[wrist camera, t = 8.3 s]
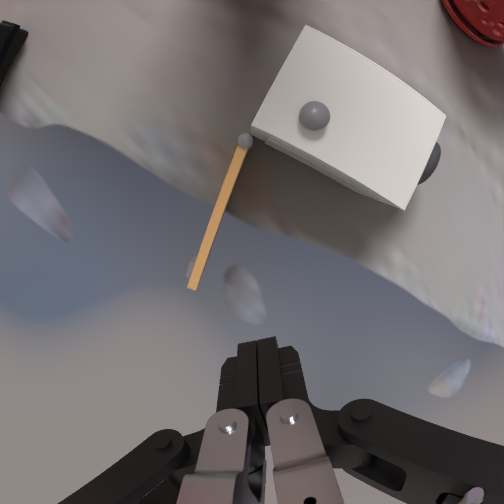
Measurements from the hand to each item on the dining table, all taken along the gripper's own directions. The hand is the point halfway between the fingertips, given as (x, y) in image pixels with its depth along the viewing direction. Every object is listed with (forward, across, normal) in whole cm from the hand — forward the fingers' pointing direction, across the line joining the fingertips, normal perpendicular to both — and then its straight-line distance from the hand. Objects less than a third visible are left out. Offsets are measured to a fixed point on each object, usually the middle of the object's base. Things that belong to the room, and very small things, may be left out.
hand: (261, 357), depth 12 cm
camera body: (+19, -10, -9) cm, 23 cm away
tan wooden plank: (+19, +3, -4) cm, 20 cm away
